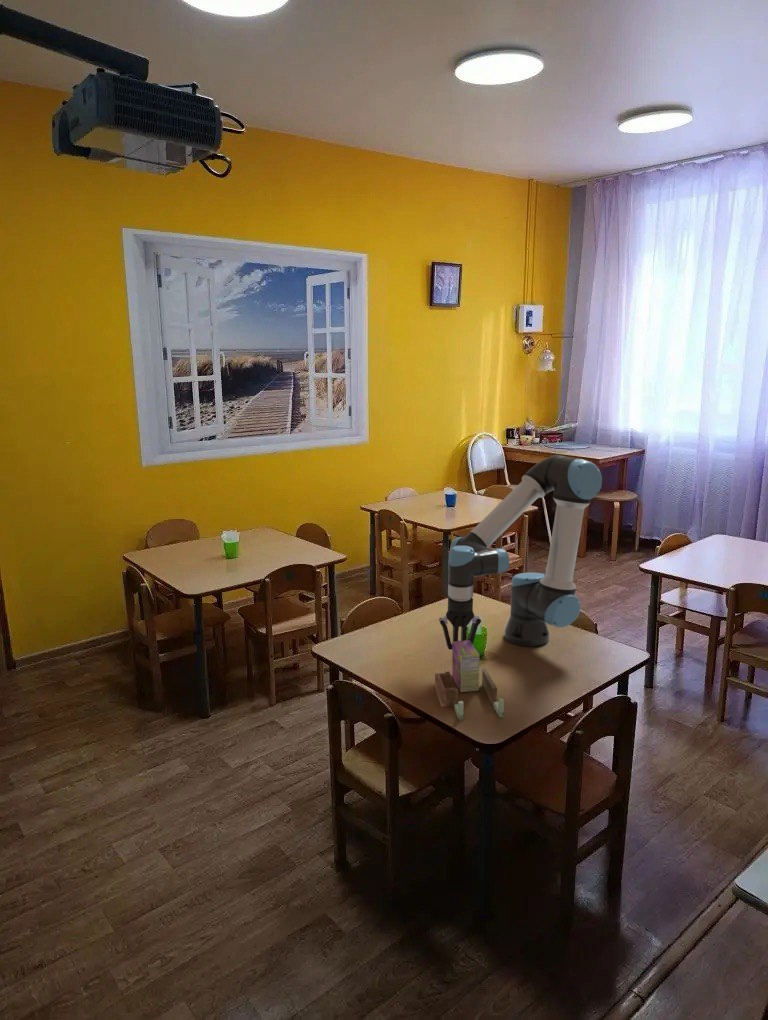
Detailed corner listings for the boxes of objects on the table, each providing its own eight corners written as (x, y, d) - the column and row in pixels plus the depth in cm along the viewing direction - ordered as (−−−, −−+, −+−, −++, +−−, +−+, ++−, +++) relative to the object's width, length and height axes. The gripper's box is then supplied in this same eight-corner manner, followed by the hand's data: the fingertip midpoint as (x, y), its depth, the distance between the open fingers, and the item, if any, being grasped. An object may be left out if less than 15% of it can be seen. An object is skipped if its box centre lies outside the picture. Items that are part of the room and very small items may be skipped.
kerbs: (497, 706, 193) (498, 690, 192) (503, 717, 188) (504, 700, 186) (454, 709, 192) (454, 692, 191) (459, 720, 186) (459, 703, 185)
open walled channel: (485, 684, 206) (486, 669, 205) (496, 704, 194) (497, 688, 193) (434, 687, 204) (434, 672, 203) (442, 708, 193) (442, 691, 192)
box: (451, 676, 211) (452, 640, 209) (469, 675, 212) (470, 639, 209) (460, 692, 201) (460, 655, 199) (478, 691, 202) (479, 654, 199)
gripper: (478, 592, 212) (476, 662, 217) (437, 593, 210) (435, 664, 216) (484, 600, 204) (482, 673, 210) (441, 602, 203) (440, 675, 209)
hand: (458, 669), depth 213 cm, fingers closed
